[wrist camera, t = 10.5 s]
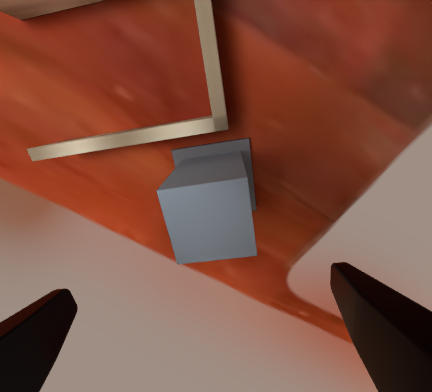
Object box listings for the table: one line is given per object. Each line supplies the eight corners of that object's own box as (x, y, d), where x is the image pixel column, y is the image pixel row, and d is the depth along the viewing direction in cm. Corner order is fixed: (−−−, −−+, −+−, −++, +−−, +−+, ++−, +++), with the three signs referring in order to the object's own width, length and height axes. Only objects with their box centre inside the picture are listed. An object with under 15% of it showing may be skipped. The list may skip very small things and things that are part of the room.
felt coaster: (248, 137, 17) (249, 138, 17) (255, 208, 19) (256, 210, 19) (172, 149, 18) (171, 150, 17) (188, 216, 20) (187, 218, 20)
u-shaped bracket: (205, -42, 13) (197, -97, 10) (228, 124, 17) (228, 129, 13) (15, 5, 15) (-56, -28, 11) (72, 149, 18) (32, 161, 15)
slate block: (240, 150, 17) (247, 177, 11) (247, 203, 19) (257, 255, 12) (182, 159, 18) (156, 190, 11) (194, 210, 19) (177, 264, 13)
